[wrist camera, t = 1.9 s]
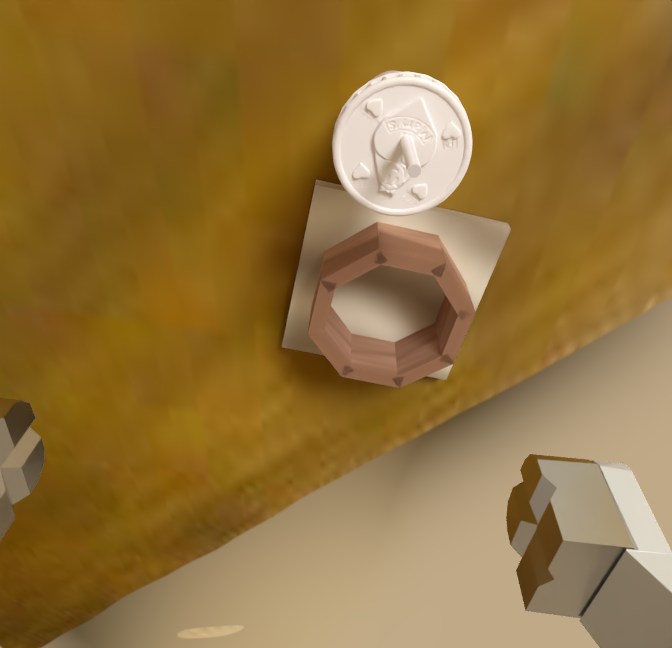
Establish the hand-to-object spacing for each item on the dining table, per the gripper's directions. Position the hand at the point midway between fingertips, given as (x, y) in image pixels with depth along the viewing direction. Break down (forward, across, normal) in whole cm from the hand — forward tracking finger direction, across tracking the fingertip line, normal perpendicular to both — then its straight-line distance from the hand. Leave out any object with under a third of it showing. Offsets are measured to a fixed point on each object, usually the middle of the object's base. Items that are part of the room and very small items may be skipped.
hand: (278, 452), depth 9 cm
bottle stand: (+28, -4, +13) cm, 31 cm away
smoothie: (+29, -3, +1) cm, 29 cm away
